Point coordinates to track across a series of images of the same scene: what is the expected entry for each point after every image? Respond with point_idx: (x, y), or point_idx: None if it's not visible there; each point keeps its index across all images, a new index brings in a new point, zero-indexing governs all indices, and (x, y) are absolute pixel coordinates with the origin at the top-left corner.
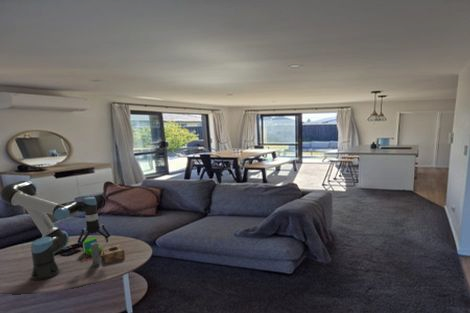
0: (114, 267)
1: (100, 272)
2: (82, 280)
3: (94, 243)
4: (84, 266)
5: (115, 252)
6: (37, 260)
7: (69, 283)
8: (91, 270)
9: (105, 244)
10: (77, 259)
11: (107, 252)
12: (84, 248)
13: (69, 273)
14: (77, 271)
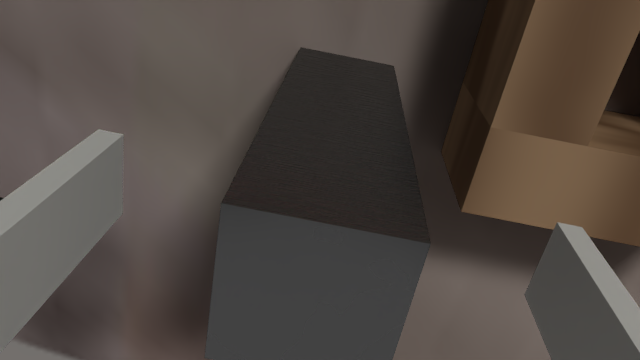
0: (466, 332)
1: None
2: (139, 353)
3: (309, 313)
4: (190, 51)
5: (636, 241)
6: None
7: (31, 325)
8: None
9: (548, 351)
10: None
11: (541, 163)
12: (69, 269)
13: (12, 117)
14: None
